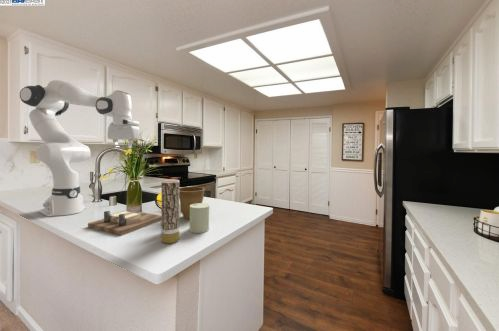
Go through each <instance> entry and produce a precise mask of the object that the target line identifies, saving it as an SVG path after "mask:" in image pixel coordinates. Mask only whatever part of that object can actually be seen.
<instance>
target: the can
mask: <svg viewBox="0 0 499 331" xmlns="http://www.w3.org/2000/svg"><path fill="white" fill-rule="evenodd" d="M210 207H211V206H210V204H208V203H205V202H202V203H196V204H191V205H190V219H189V228H188V230H189V232H191V233H193V234H194V233H195V234H201V233H202V234H203V233H206V232H208V231H209V230H210Z"/></svg>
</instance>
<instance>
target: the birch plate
mask: <svg viewBox="0 0 499 331" xmlns="http://www.w3.org/2000/svg"><path fill="white" fill-rule="evenodd" d="M119 214H125V225H128V224H131V223H133V222H136V221H139V220H141V214H138V213H132V212H129V211H126V210H122V211H118V212H114V213H110V221H111V222H115V223H119Z"/></svg>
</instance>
